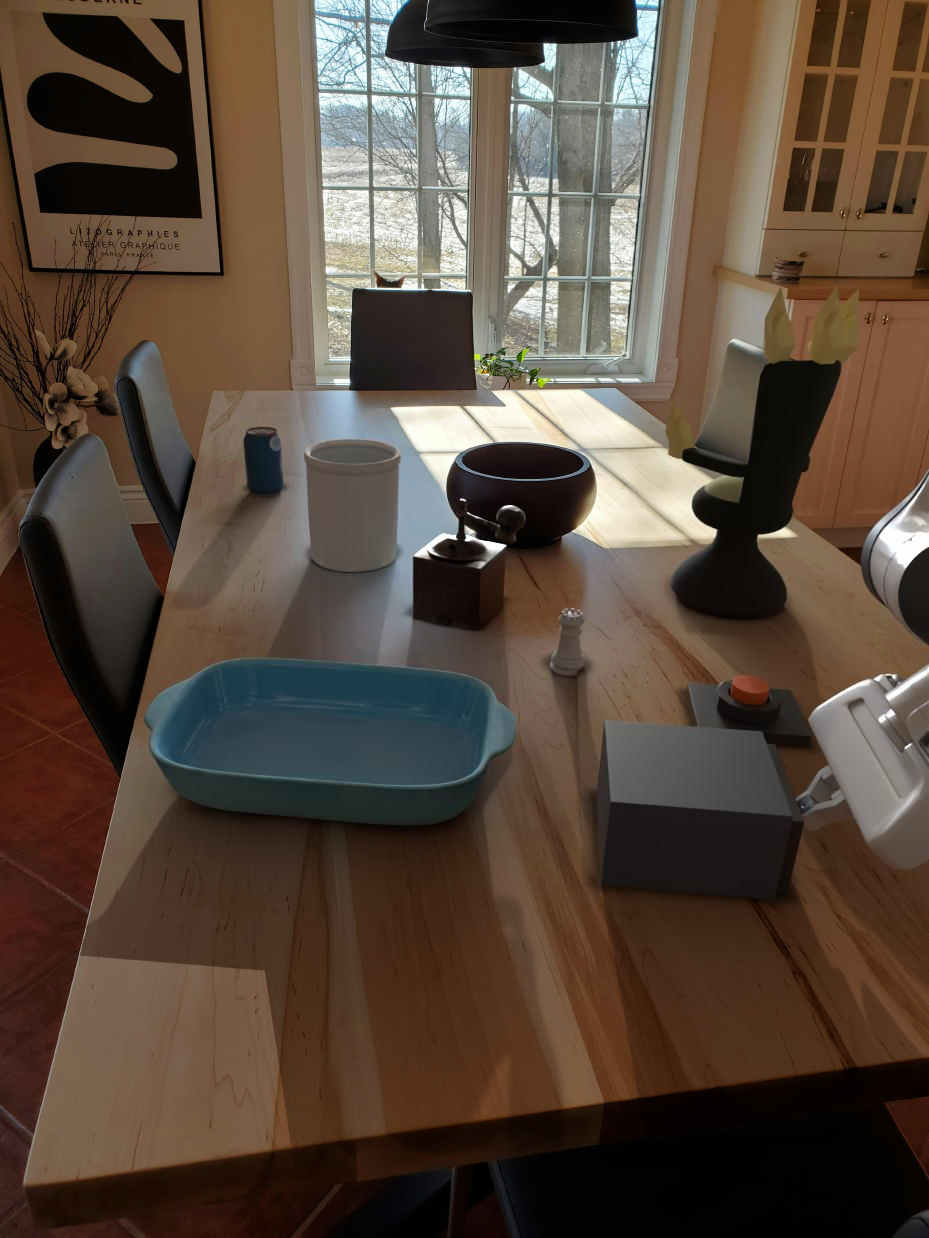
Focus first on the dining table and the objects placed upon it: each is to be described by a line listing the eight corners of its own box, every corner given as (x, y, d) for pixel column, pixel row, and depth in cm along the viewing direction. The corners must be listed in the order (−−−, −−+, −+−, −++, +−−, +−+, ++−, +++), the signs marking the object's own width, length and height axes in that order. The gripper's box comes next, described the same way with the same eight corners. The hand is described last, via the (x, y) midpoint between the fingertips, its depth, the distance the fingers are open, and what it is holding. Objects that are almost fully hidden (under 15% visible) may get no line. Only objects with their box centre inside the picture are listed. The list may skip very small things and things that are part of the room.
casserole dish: (516, 723, 101) (519, 668, 98) (509, 856, 81) (512, 791, 78) (196, 703, 104) (190, 648, 101) (113, 827, 84) (101, 763, 81)
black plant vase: (748, 568, 145) (801, 270, 125) (839, 628, 126) (919, 287, 106) (643, 580, 139) (681, 270, 120) (722, 644, 120) (783, 288, 101)
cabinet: (745, 814, 88) (762, 731, 84) (772, 907, 76) (793, 816, 72) (595, 802, 89) (604, 719, 85) (600, 891, 78) (610, 801, 73)
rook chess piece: (560, 681, 110) (565, 622, 107) (543, 664, 114) (547, 608, 111) (591, 674, 112) (597, 617, 109) (573, 658, 116) (578, 602, 112)
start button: (763, 689, 103) (765, 676, 102) (770, 708, 99) (773, 694, 98) (727, 687, 103) (729, 674, 102) (733, 705, 99) (735, 691, 99)
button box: (787, 705, 106) (793, 676, 105) (808, 753, 98) (815, 722, 96) (684, 698, 107) (689, 669, 106) (695, 744, 98) (700, 713, 97)
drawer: (773, 812, 87) (788, 745, 83) (801, 896, 76) (819, 823, 73) (620, 800, 88) (628, 733, 84) (627, 881, 78) (637, 808, 74)
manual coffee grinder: (407, 620, 125) (407, 496, 117) (439, 591, 134) (441, 474, 126) (513, 642, 119) (520, 513, 112) (538, 610, 129) (547, 489, 121)
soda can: (291, 492, 174) (287, 430, 169) (261, 499, 170) (256, 437, 164) (270, 484, 178) (265, 424, 173) (240, 491, 174) (235, 429, 169)
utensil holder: (386, 536, 154) (385, 435, 146) (413, 568, 141) (413, 459, 134) (301, 545, 149) (295, 441, 141) (320, 579, 137) (315, 467, 129)
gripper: (874, 644, 83) (754, 732, 88) (965, 772, 65) (807, 873, 70) (916, 687, 85) (796, 771, 90) (1016, 824, 66) (858, 920, 71)
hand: (801, 817), depth 80 cm, fingers closed, pressing on drawer
